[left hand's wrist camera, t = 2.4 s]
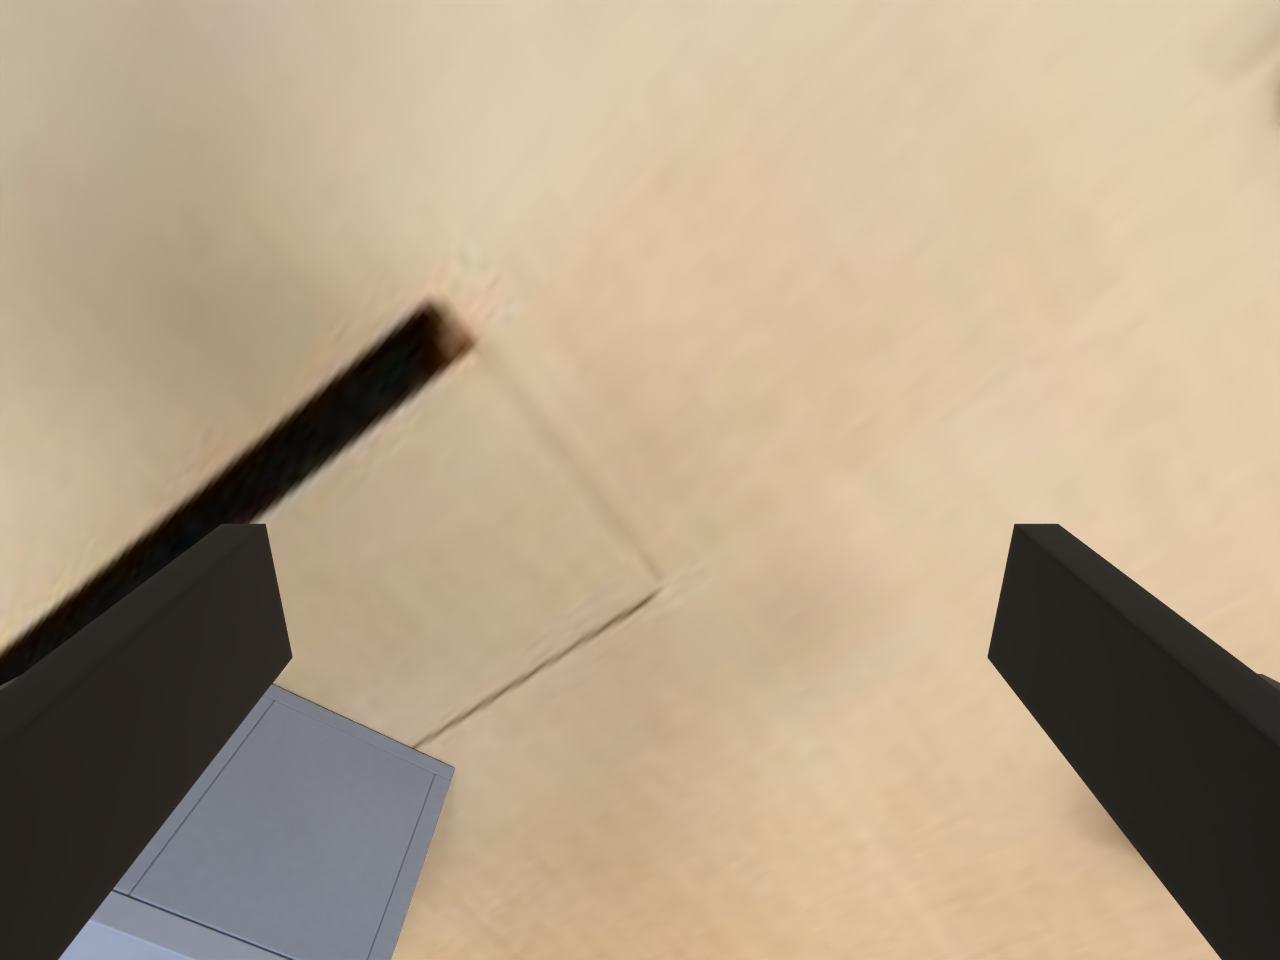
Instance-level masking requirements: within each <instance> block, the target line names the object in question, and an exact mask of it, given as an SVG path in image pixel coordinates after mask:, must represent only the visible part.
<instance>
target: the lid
mask: <svg viewBox="0 0 1280 960" xmlns="http://www.w3.org/2000/svg"><path fill="white" fill-rule="evenodd" d="M59 960H289V959H286V958H284V957H281V956H278V955H276V954H273V953H271V952H268V951H266V950H263V949H260V948H258V947H255V946H253V945H250V944H248V943H245V942H242V941H240V940H237V939H235V938H232V937H230V936H227V935H224V934H222V933H219V932H217V931H214V930H212V929H209V928H206V927H204V926H201V925H199V924H196V923H194V922H191V921H188V920H186V919H183V918H181V917H178V916H176V915H173V914H170V913H168V912H165V911H163V910H160V909H158V908H155V907H152V906H150V905H147V904H145V903H142V902H140V901H137V900H134V899H132V898H129V897H127V896H124V895H122V894H119V893H116V892H114V891H111V892H110V894H109V895H108V896H107V897H106V899H105V900H104V901H103V903H102V904H101V905H100V907H99V908H98V909H97V910H96V912H95V913H94V914H93V916H92V917H91V918H90V919H89V921H88V922H87V923H86V925H85V926H84V927H83V928H82V930H81V931H80V932H79V934H78V935H77V936H76V938H75V939H74V940H73V941H72V943H71V944H70V945H69V947H68V948H67V949H66V950H65V952H64V953H63V954H62V956H61V957H60V958H59Z"/></svg>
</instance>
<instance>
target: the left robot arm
mask: <svg viewBox="0 0 1280 960" xmlns="http://www.w3.org/2000/svg"><path fill="white" fill-rule="evenodd" d="M291 659H292V652H291V647H290V642H289V638H288V633H287V628H286V623H285V618H284V613H283V608H282V603H281V598H280V593H279V588H278V583H277V578H276V573H275V568H274V563H273V558H272V553H271V548H270V544H269V539H268V534H267V529H266V524H221V525H220V526H219V527H217V528H216V529H215V530H213V531H212V532H211V533H209V534H208V535H207V536H205V537H204V538H203V539H201V540H200V541H199V542H197V543H196V544H195V545H193V546H192V547H191V548H189V549H188V550H187V551H185V552H184V553H183V554H181V555H180V556H179V557H177V558H176V559H175V560H173V561H172V562H171V563H169V564H168V565H167V566H165V567H164V568H163V569H161V570H160V571H159V572H157V573H156V574H155V575H154V576H152V577H151V578H150V579H148V580H147V581H146V582H144V583H143V584H142V585H140V586H139V587H138V588H136V589H135V590H134V591H132V592H131V593H130V594H128V595H127V596H126V597H124V598H123V599H122V600H120V601H119V602H118V603H116V604H115V605H114V606H112V607H111V608H110V609H108V610H107V611H106V612H104V613H103V614H102V615H100V616H99V617H98V618H96V619H95V620H94V621H92V622H91V623H90V624H88V625H87V626H86V627H85V628H83V629H82V630H81V631H79V632H78V633H77V634H75V635H74V636H73V637H71V638H70V639H69V640H67V641H66V642H65V643H63V644H62V645H61V646H59V647H58V648H57V649H55V650H54V651H53V652H51V653H50V654H49V655H47V656H46V657H45V658H43V659H42V660H41V661H39V662H38V663H37V664H35V665H34V666H33V667H31V668H30V669H29V670H27V671H26V672H25V673H23V674H22V675H21V676H20V677H17V678H15V679H13V680H11V681H9V682H7V683H5V684H3V685H1V686H0V960H58V959H59V958H60V957H61V956H62V954H63V953H64V952H65V950H66V949H67V948H68V947H69V945H70V944H71V943H72V941H73V940H74V939H75V938H76V936H77V935H78V934H79V932H80V931H81V930H82V928H83V927H84V926H85V925H86V923H87V922H88V921H89V919H90V918H91V917H92V916H93V914H94V913H95V912H96V910H97V909H98V908H99V907H100V905H101V904H102V903H103V901H104V900H105V899H106V897H107V896H108V895H109V894H110V892H111V891H112V890H113V888H114V887H115V886H116V885H117V883H118V882H119V881H120V879H121V878H122V877H123V876H124V874H125V873H126V872H127V870H128V869H129V868H130V867H131V865H132V864H133V863H134V861H135V860H136V859H137V857H138V856H139V855H140V854H141V852H142V851H143V850H144V848H145V847H146V846H147V845H148V843H149V842H150V841H151V839H152V838H153V837H154V836H155V834H156V833H157V832H158V830H159V829H160V828H161V826H162V825H163V824H164V823H165V821H166V820H167V819H168V817H169V816H170V815H171V814H172V812H173V811H174V810H175V808H176V807H177V806H178V805H179V803H180V802H181V801H182V799H183V798H184V797H185V796H186V794H187V793H188V792H189V790H190V789H191V788H192V786H193V785H194V784H195V783H196V781H197V780H198V779H199V777H200V776H201V775H202V774H203V772H204V771H205V770H206V768H207V767H208V766H209V765H210V763H211V762H212V761H213V759H214V758H215V757H216V755H217V754H218V753H219V752H220V750H221V749H222V748H223V746H224V745H225V744H226V743H227V741H228V740H229V739H230V737H231V736H232V735H233V734H234V732H235V731H236V730H237V728H238V727H239V726H240V725H241V723H242V722H243V721H244V719H245V718H246V717H247V715H248V714H249V713H250V712H251V710H252V709H253V708H254V706H255V705H256V704H257V703H258V701H259V700H260V699H261V697H262V696H263V695H264V694H265V692H266V691H267V690H268V688H269V687H270V686H271V684H272V683H273V682H274V681H275V679H276V678H277V677H278V675H279V674H280V673H281V672H282V670H283V669H284V668H285V666H286V665H287V664H288V663H289V661H290V660H291ZM988 659H989V660H990V661H991V663H992V664H993V665H994V666H995V668H996V669H997V670H998V672H999V673H1000V674H1001V675H1002V677H1003V678H1004V679H1005V681H1006V682H1007V683H1008V684H1009V686H1010V687H1011V688H1012V690H1013V691H1014V692H1015V694H1016V695H1017V696H1018V697H1019V699H1020V700H1021V701H1022V703H1023V704H1024V705H1025V706H1026V708H1027V709H1028V710H1029V712H1030V713H1031V714H1032V715H1033V717H1034V718H1035V719H1036V721H1037V722H1038V723H1039V725H1040V726H1041V727H1042V728H1043V730H1044V731H1045V732H1046V734H1047V735H1048V736H1049V737H1050V739H1051V740H1052V741H1053V743H1054V744H1055V745H1056V746H1057V748H1058V749H1059V750H1060V752H1061V753H1062V754H1063V755H1064V757H1065V758H1066V759H1067V761H1068V762H1069V763H1070V765H1071V766H1072V767H1073V768H1074V770H1075V771H1076V772H1077V774H1078V775H1079V776H1080V777H1081V779H1082V780H1083V781H1084V783H1085V784H1086V785H1087V786H1088V788H1089V789H1090V790H1091V792H1092V793H1093V794H1094V796H1095V797H1096V798H1097V799H1098V801H1099V802H1100V803H1101V805H1102V806H1103V807H1104V808H1105V810H1106V811H1107V812H1108V814H1109V815H1110V816H1111V817H1112V819H1113V820H1114V821H1115V823H1116V824H1117V825H1118V826H1119V828H1120V829H1121V830H1122V832H1123V833H1124V834H1125V836H1126V837H1127V838H1128V839H1129V841H1130V842H1131V843H1132V845H1133V846H1134V847H1135V848H1136V850H1137V851H1138V852H1139V854H1140V855H1141V856H1142V857H1143V859H1144V860H1145V861H1146V863H1147V864H1148V865H1149V867H1150V868H1151V869H1152V870H1153V872H1154V873H1155V874H1156V876H1157V877H1158V878H1159V879H1160V881H1161V882H1162V883H1163V885H1164V886H1165V887H1166V888H1167V890H1168V891H1169V892H1170V894H1171V895H1172V896H1173V897H1174V899H1175V900H1176V901H1177V903H1178V904H1179V905H1180V907H1181V908H1182V909H1183V910H1184V912H1185V913H1186V914H1187V916H1188V917H1189V918H1190V919H1191V921H1192V922H1193V923H1194V925H1195V926H1196V927H1197V928H1198V930H1199V931H1200V932H1201V934H1202V935H1203V936H1204V938H1205V939H1206V940H1207V941H1208V943H1209V944H1210V945H1211V947H1212V948H1213V949H1214V950H1215V952H1216V953H1217V954H1218V956H1219V957H1220V958H1221V959H1222V960H1280V683H1279V682H1277V681H1275V680H1273V679H1271V678H1269V677H1267V676H1265V675H1263V674H1257V673H1255V672H1254V671H1253V670H1251V669H1250V668H1249V667H1247V666H1246V665H1245V664H1243V663H1242V662H1241V661H1239V660H1238V659H1237V658H1235V657H1234V656H1233V655H1231V654H1230V653H1229V652H1227V651H1226V650H1225V649H1223V648H1222V647H1221V646H1219V645H1218V644H1217V643H1215V642H1214V641H1213V640H1211V639H1210V638H1209V637H1207V636H1206V635H1205V634H1203V633H1202V632H1201V631H1199V630H1198V629H1197V628H1195V627H1194V626H1193V625H1192V624H1190V623H1189V622H1188V621H1186V620H1185V619H1184V618H1182V617H1181V616H1180V615H1178V614H1177V613H1176V612H1174V611H1173V610H1172V609H1170V608H1169V607H1168V606H1166V605H1165V604H1164V603H1162V602H1161V601H1160V600H1158V599H1157V598H1156V597H1154V596H1153V595H1152V594H1150V593H1149V592H1148V591H1146V590H1145V589H1144V588H1142V587H1141V586H1140V585H1138V584H1137V583H1136V582H1134V581H1133V580H1132V579H1130V578H1129V577H1128V576H1126V575H1125V574H1124V573H1123V572H1121V571H1120V570H1119V569H1117V568H1116V567H1115V566H1113V565H1112V564H1111V563H1109V562H1108V561H1107V560H1105V559H1104V558H1103V557H1101V556H1100V555H1099V554H1097V553H1096V552H1095V551H1093V550H1092V549H1091V548H1089V547H1088V546H1087V545H1085V544H1084V543H1083V542H1081V541H1080V540H1079V539H1077V538H1076V537H1075V536H1073V535H1072V534H1071V533H1069V532H1068V531H1067V530H1065V529H1064V528H1063V527H1061V526H1060V525H1059V524H1014V529H1013V534H1012V539H1011V544H1010V548H1009V553H1008V558H1007V563H1006V568H1005V573H1004V578H1003V583H1002V588H1001V593H1000V598H999V603H998V608H997V613H996V618H995V623H994V628H993V633H992V638H991V642H990V647H989V652H988Z"/></svg>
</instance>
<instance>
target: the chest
mask: <svg viewBox="0 0 1280 960" xmlns="http://www.w3.org/2000/svg"><path fill="white" fill-rule="evenodd" d="M454 770H455V768H453V767H451V766H449V765H446V764H444V763H442V762H440V761H438V760H436V759H433V758H431V757H429V756H427V755H425V754H423V753H420V752H418V751H416V750H414V749H412V748H410V747H407V746H405V745H403V744H401V743H399V742H397V741H394V740H392V739H390V738H388V737H386V736H384V735H381V734H379V733H377V732H375V731H373V730H370V729H368V728H366V727H364V726H362V725H360V724H357V723H355V722H353V721H351V720H349V719H347V718H344V717H342V716H340V715H338V714H336V713H334V712H331V711H329V710H327V709H325V708H323V707H321V706H318V705H316V704H314V703H312V702H310V701H308V700H305V699H303V698H301V697H299V696H297V695H295V694H292V693H290V692H288V691H286V690H284V689H282V688H279V687H277V686H275V685H273V684H271V686H270V687H269V688H268V690H267V691H266V692H265V694H264V695H263V696H262V697H261V699H260V700H259V701H258V703H257V704H256V705H255V706H254V708H253V709H252V710H251V712H250V713H249V714H248V715H247V717H246V718H245V719H244V721H243V722H242V723H241V725H240V726H239V727H238V728H237V730H236V731H235V732H234V734H233V735H232V736H231V737H230V739H229V740H228V741H227V743H226V744H225V745H224V746H223V748H222V749H221V750H220V752H219V753H218V754H217V755H216V757H215V758H214V759H213V761H212V762H211V763H210V765H209V766H208V767H207V768H206V770H205V771H204V772H203V774H202V775H201V776H200V777H199V779H198V780H197V781H196V783H195V784H194V785H193V786H192V788H191V789H190V790H189V792H188V793H187V794H186V796H185V797H184V798H183V799H182V801H181V802H180V803H179V805H178V806H177V807H176V808H175V810H174V811H173V812H172V814H171V815H170V816H169V817H168V819H167V820H166V821H165V823H164V824H163V825H162V826H161V828H160V829H159V830H158V832H157V833H156V834H155V836H154V837H153V838H152V839H151V841H150V842H149V843H148V845H147V846H146V847H145V848H144V850H143V851H142V852H141V854H140V855H139V856H138V857H137V859H136V860H135V861H134V863H133V864H132V865H131V867H130V868H129V869H128V870H127V872H126V873H125V874H124V876H123V877H122V878H121V879H120V881H119V882H118V883H117V885H116V886H115V887H114V888H113V890H112V891H114V892H116V893H119V894H122V895H124V896H127V897H129V898H132V899H134V900H137V901H140V902H142V903H145V904H147V905H150V906H152V907H155V908H158V909H160V910H163V911H165V912H168V913H170V914H173V915H176V916H178V917H181V918H183V919H186V920H188V921H191V922H194V923H196V924H199V925H201V926H204V927H206V928H209V929H212V930H214V931H217V932H219V933H222V934H224V935H227V936H230V937H232V938H235V939H237V940H240V941H242V942H245V943H248V944H250V945H253V946H255V947H258V948H260V949H263V950H266V951H268V952H271V953H273V954H276V955H278V956H281V957H284V958H286V959H289V960H391V959H392V956H393V953H394V950H395V947H396V944H397V941H398V938H399V935H400V932H401V929H402V926H403V923H404V920H405V917H406V914H407V911H408V908H409V905H410V902H411V899H412V896H413V893H414V890H415V887H416V884H417V881H418V878H419V875H420V872H421V869H422V866H423V863H424V860H425V857H426V854H427V851H428V848H429V845H430V842H431V839H432V836H433V833H434V830H435V827H436V824H437V821H438V818H439V815H440V812H441V809H442V806H443V803H444V800H445V797H446V794H447V791H448V788H449V785H450V781H451V779H452V776H453V773H454Z"/></svg>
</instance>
